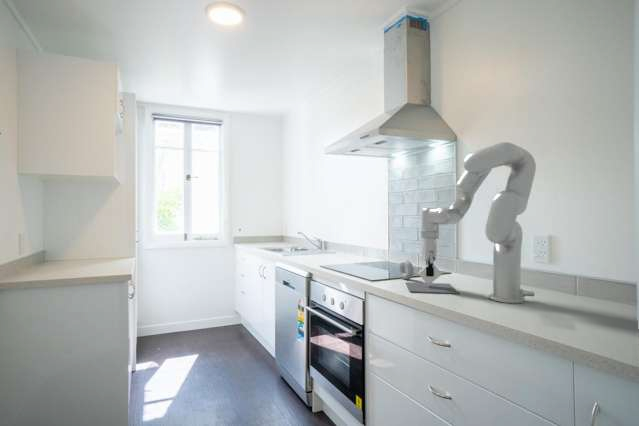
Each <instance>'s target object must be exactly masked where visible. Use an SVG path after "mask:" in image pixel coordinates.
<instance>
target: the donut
mask: <svg viewBox="0 0 639 426" xmlns="http://www.w3.org/2000/svg"><path fill="white" fill-rule="evenodd" d="M414 268H415V267H414V266H413V263H412V262H411V261H410V260H408V259H402V260H401V261H400V262H399V264H398V267H397V269H398V274H399V275H400V277H401V278H402V279H404V280H410V279H412V278H413V276H414V270H415V269H414Z"/></svg>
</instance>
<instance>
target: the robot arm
mask: <svg viewBox="0 0 639 426" xmlns="http://www.w3.org/2000/svg"><path fill="white" fill-rule="evenodd" d="M501 166H504V167H508V168H510V173H509V174H508V175H509V176H508V178H507V181H506V182H507V183H506V186H505V189H504V190H502V191H500V192H498V193H496V195H495V196H494V197H493V199H492V202H491V204H490V208H489V212H488V217H487V220H486V223H485V228H484V230H485V231H484V232H485V236H486V238H487V239H488V240H489V242H491V243H493V251H492V252H493V253H492V254H493V259H492V271H493V272H492V293H490V294H488V298H489V299H490V300H492V301H495V302H501V303H505V304H522V303H525V302H526V297H535V292H534V291H533V290H531V291H530V290H524V289H522V288H521V260H522V259H521V258H522V257H521V254H522V253H521V252H522V244H523V243H522V242H523V229H522V226H521V224H520V223H519V222H518V221H517V217H518V216H520V215H522V214H523V213H525V211H526V210H527V207H528V203H529V199H530V195H531V191H532V187H533V183H534V178H535V174H536V170H537V165H536V160H535V158H534V156H533V155H532V154H531V153H530V151H528V150H526V149H525V148H523V147H521V146H519V145H517V144H514V143H511V142H499V143H496V144H494V145H489V146H487V147H484V148H481V149H478V150H475V151H473V152H470V153H469V154H468V155H466V156H465V157H464V160H463V168H464V171H463V173H462V175H461V176H460V178H459V179H458V180H457V182H456V184H455V186H456V190H457V191H456V196H455V198H454V200H453V202H452V204H451V205H450V207H445V206H444V207H424V208H422V209H421V239H422V241H423V242H422V254H421V255H422V256H421V257H422V259H423V260H424V261H425V266H426V265H427V267H426V276H431V277H433V276H434V265H435V264H434V262H435V261H436V260H437V240H439V238H440V225H446V226H447V225H448V226H449V225H456V224H458V223H459V222H460V221H461V220H462V219H463V218H464V217H465V215H466V214H467V212H468V211H469V209H470V208H471V206H472V203H473V201H474V197H475V194H476V192H477V191H478V190H479V188H480V187H481V185H482V184H483V182H484V181H485V180H486V178H487V177H488V175H489V174H490V172H491V171H492V170H493V169H495V168H498V167H501Z"/></svg>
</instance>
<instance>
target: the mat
mask: <svg viewBox="0 0 639 426" xmlns="http://www.w3.org/2000/svg"><path fill="white" fill-rule="evenodd" d="M405 285H406V287H407V290H408V291H409V293H412V294H414V293H415V294H437V295H438V294H439V295H440V294H443V295H448V294H449V295H460V292H459V291H458V290H457V289H456V288H455V287H454V286H453V285H451V283H446V282H445V283H441V282H436V283H435V282H432V283H431V284H430V285H428V284H427V283H426V282H411V281H409V282H406V281H405Z"/></svg>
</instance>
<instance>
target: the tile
mask: <svg viewBox="0 0 639 426" xmlns="http://www.w3.org/2000/svg"><path fill="white" fill-rule="evenodd" d="M426 267H427V265H426V264H425V266H424V267H423V268H421V269H420V270H419V271H418V272H417V274H418V276H420V278H421V279H422V280H423V281H424V283H427V284H428V285H430V284H431V283H434V282H435V281H436V280H437V279H439V278H440V277H441V276H442V275H443V273H442V272H441V271H440V269H439V268H438V267H437V266H436V265H435V264H434V276H433V277H431V276H426Z"/></svg>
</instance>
